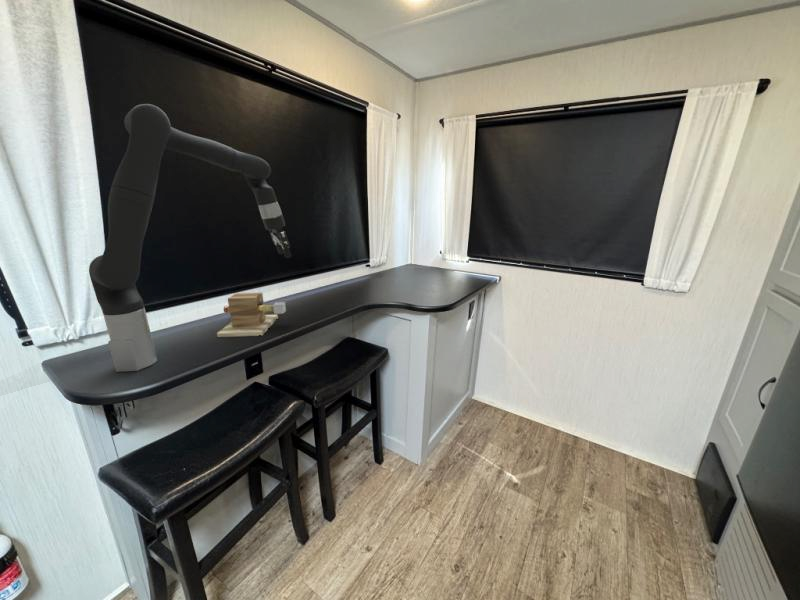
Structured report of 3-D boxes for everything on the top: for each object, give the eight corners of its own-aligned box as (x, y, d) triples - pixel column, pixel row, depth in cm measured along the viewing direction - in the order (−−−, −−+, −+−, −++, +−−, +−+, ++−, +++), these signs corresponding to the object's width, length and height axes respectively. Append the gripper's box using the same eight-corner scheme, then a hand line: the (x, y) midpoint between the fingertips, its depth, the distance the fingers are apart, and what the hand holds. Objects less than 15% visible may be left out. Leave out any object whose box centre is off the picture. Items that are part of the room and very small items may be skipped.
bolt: (283, 313, 124) (282, 304, 123) (223, 315, 123) (222, 306, 122) (285, 310, 128) (284, 302, 127) (227, 312, 126) (226, 303, 125)
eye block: (262, 335, 118) (257, 301, 114) (217, 337, 117) (211, 303, 113) (277, 317, 137) (274, 288, 133) (239, 319, 136) (235, 289, 132)
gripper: (257, 216, 125) (271, 255, 132) (267, 219, 114) (281, 261, 121) (275, 211, 129) (288, 249, 136) (287, 214, 118) (300, 255, 125)
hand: (285, 255), depth 129 cm, fingers open, 8 cm apart
